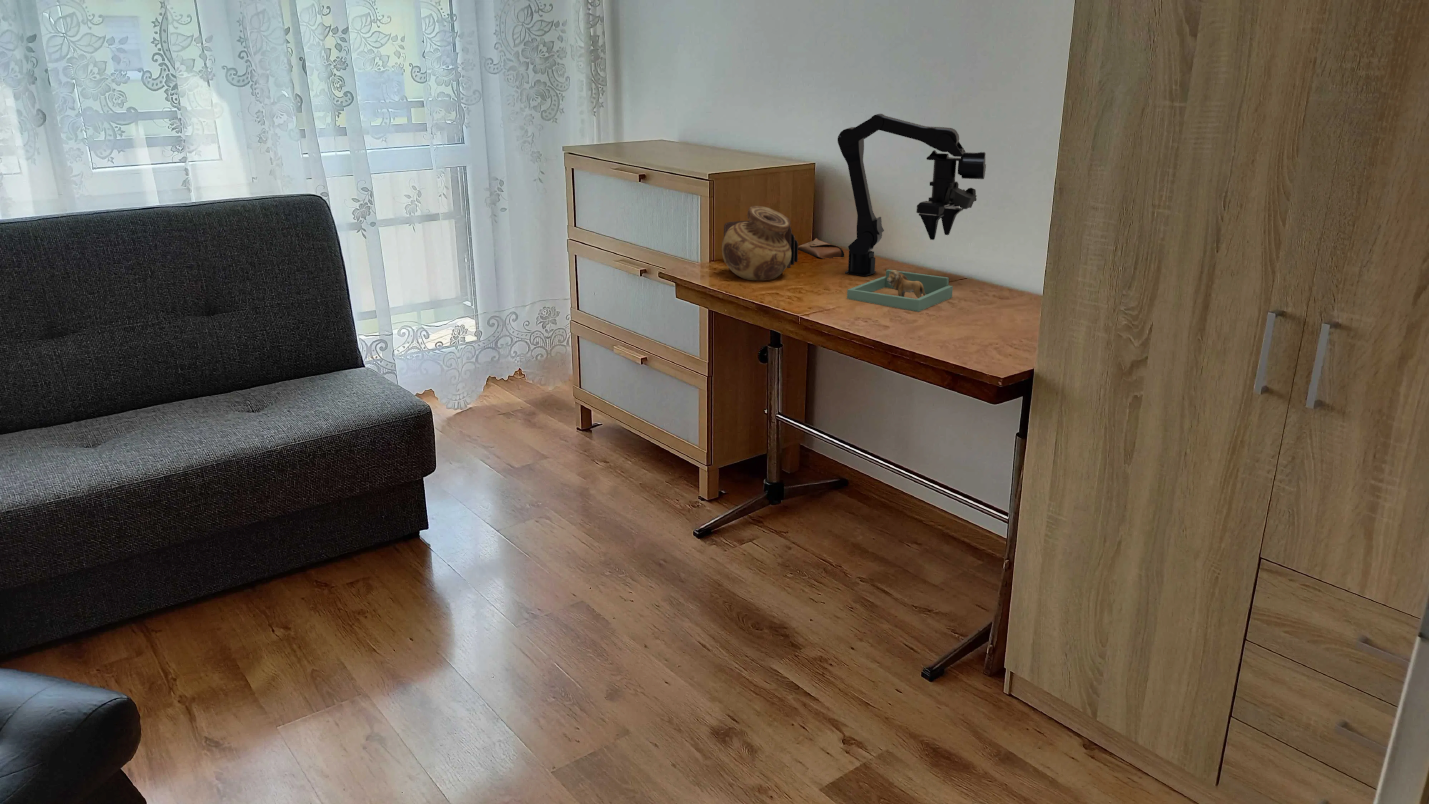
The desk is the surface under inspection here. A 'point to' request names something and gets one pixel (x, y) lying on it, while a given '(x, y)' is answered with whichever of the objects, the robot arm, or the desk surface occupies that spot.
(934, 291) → the cold frame
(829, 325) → the desk surface
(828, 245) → the sunglasses case
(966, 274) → the desk surface
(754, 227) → the clay pot
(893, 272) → the lion figurine
